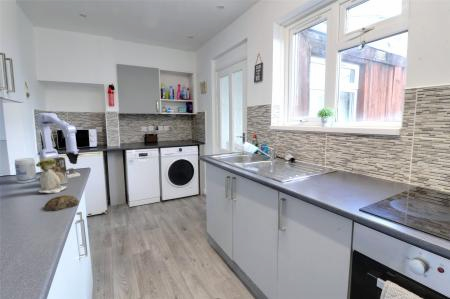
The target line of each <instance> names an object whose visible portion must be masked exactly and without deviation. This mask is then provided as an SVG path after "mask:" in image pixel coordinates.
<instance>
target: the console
mask: <svg viewBox="0 0 450 299" xmlns="http://www.w3.org/2000/svg"><path fill="white" fill-rule="evenodd" d="M80 176H81V173H79V172H77V171H74V173H72V174H69V170H68V171H67V177H68V179H71V178H74V177H80Z"/></svg>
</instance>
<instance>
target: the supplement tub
mask: <svg viewBox="0 0 450 299" xmlns="http://www.w3.org/2000/svg"><path fill="white" fill-rule="evenodd" d="M14 168H15V169H14V170H15V174H16V175H15V176H16V183H18V184H27V183H28V184H29V183H33V182H36V181H37V179H38V178H37V170H36V163H35V158H34V157H24V158H17V159H14Z"/></svg>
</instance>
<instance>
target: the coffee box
mask: <svg viewBox="0 0 450 299" xmlns="http://www.w3.org/2000/svg"><path fill="white" fill-rule="evenodd" d="M51 159H55V160H56V162H59V164H58V165H56V166H53V167H52V168H51V170H52V171H53V172H54V173H55V174H56V175H57V176H58V177H59V179H60V183H58V184H59V185H60V186H62V185H64V184H69V178H68V177H67V165H66V158H65V157H62V156H60V157H58V158H51Z"/></svg>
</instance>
